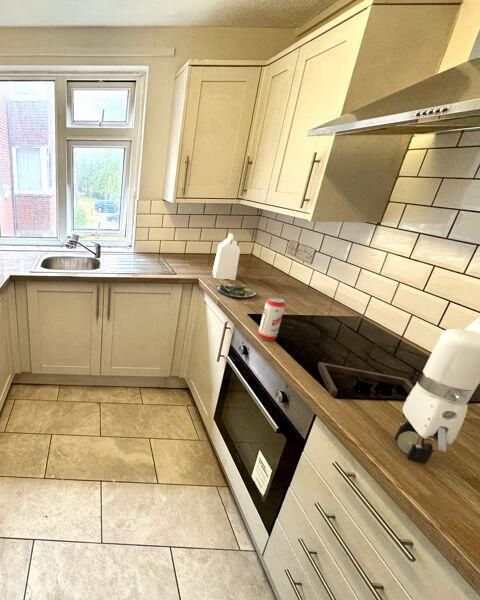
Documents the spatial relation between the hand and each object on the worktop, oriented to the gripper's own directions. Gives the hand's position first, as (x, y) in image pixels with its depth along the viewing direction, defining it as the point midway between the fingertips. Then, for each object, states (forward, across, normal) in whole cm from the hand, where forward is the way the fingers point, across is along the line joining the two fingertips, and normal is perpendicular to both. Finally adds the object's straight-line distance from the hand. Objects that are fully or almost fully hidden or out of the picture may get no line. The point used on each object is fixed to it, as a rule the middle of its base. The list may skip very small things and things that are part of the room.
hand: (409, 450), depth 73 cm
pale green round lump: (+1, 0, 0) cm, 1 cm away
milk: (+1, +125, +40) cm, 131 cm away
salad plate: (+1, +96, +35) cm, 102 cm away
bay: (+1, +24, 0) cm, 24 cm away
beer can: (+1, +48, +24) cm, 54 cm away
